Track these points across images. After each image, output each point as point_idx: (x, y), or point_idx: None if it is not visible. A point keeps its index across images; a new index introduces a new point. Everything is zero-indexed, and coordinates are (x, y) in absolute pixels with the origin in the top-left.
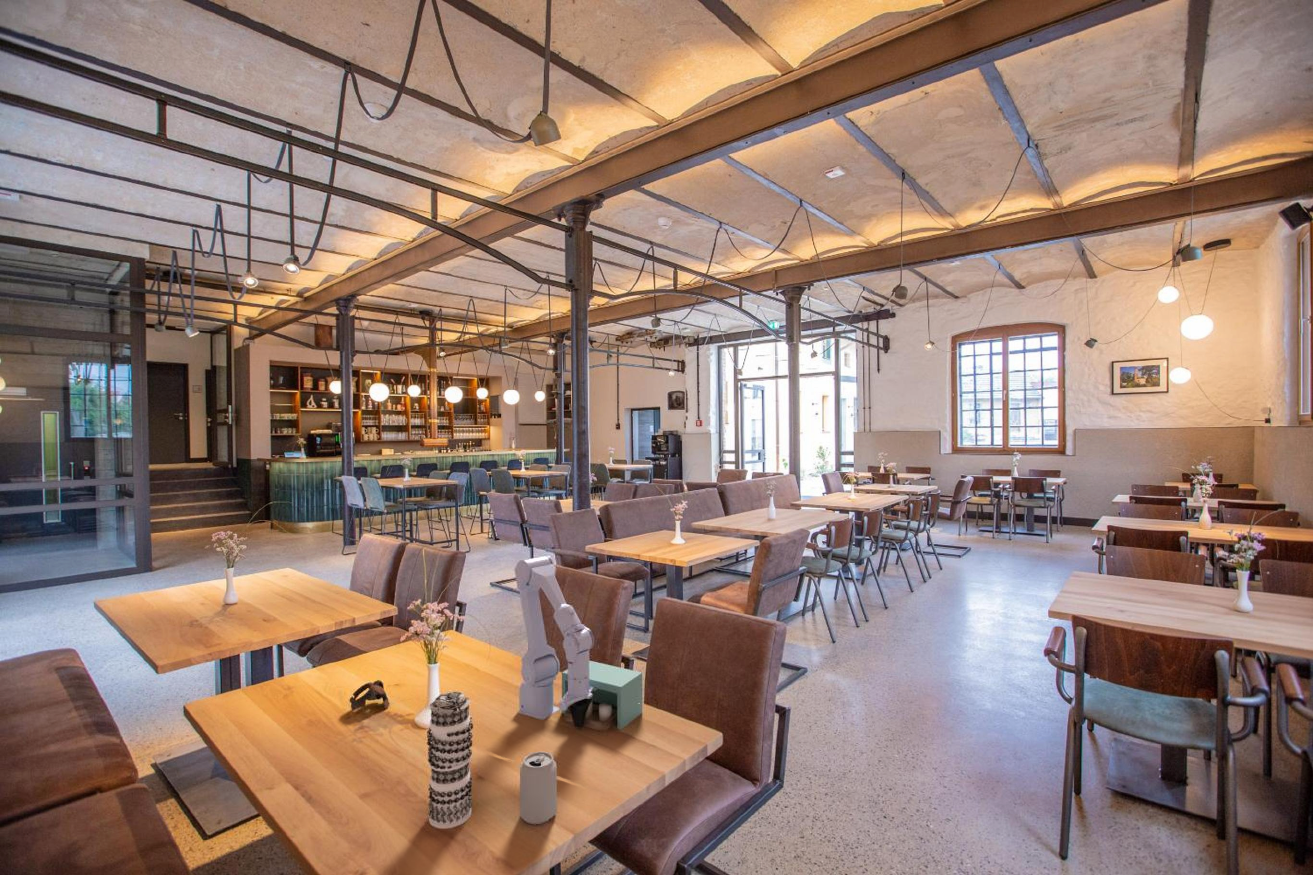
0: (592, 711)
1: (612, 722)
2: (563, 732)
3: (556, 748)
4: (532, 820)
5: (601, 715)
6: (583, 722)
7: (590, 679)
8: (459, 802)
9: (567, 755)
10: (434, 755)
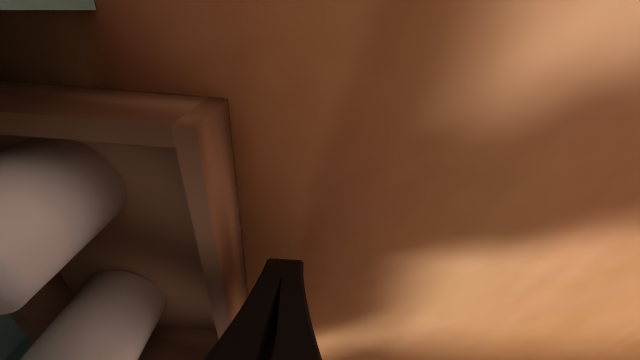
0: (87, 289)
1: (60, 99)
2: (336, 298)
3: (507, 260)
4: None
5: (84, 222)
6: (272, 277)
7: None
8: None
9: (594, 176)
10: None
